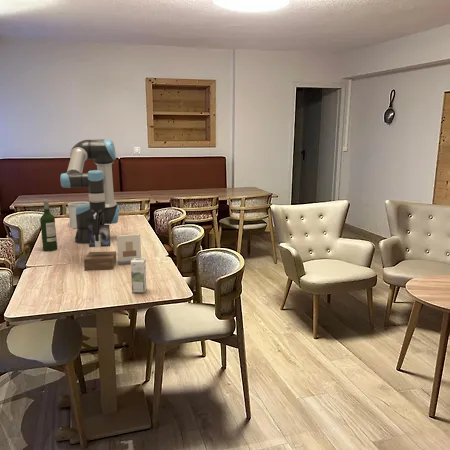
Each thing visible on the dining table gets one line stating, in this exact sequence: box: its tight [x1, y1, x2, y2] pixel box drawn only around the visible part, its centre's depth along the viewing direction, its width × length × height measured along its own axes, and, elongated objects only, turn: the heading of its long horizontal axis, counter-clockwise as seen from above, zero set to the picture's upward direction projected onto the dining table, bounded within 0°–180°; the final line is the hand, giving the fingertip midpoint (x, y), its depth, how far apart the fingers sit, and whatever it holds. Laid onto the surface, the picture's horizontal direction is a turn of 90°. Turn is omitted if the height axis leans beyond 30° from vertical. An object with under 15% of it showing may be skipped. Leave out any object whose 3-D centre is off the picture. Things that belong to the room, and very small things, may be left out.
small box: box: [88, 224, 111, 248], centre depth 226 cm, size 11×6×10 cm, turn 103°
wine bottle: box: [39, 198, 58, 252], centre depth 257 cm, size 8×8×30 cm
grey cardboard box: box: [116, 233, 142, 266], centre depth 234 cm, size 6×12×15 cm, turn 107°
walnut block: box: [83, 251, 118, 271], centre depth 229 cm, size 14×14×6 cm
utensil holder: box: [67, 201, 90, 229], centre depth 320 cm, size 15×15×18 cm
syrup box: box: [130, 257, 148, 294], centre depth 193 cm, size 6×6×14 cm
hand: (99, 244), depth 227 cm, fingers closed on small box, 7 cm apart
